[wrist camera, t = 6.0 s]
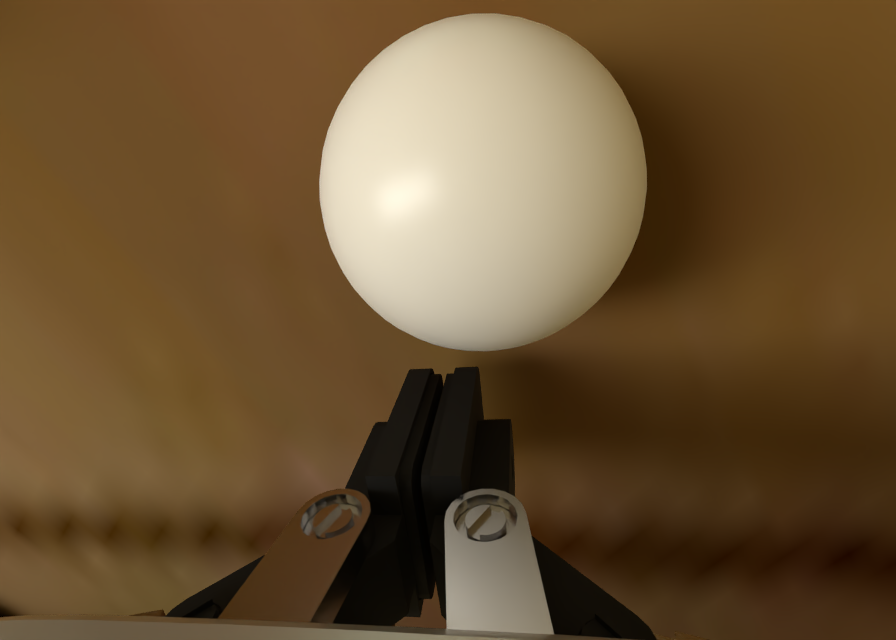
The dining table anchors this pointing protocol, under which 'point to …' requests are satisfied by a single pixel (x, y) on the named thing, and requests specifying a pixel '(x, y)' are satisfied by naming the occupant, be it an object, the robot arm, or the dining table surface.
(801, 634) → the dining table surface
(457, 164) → the cue ball
